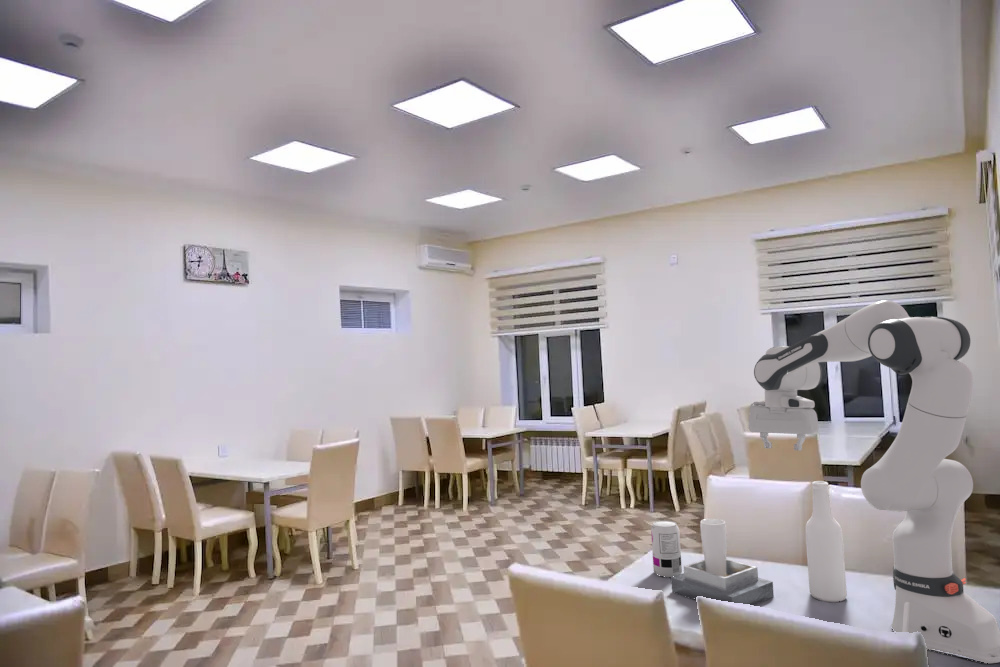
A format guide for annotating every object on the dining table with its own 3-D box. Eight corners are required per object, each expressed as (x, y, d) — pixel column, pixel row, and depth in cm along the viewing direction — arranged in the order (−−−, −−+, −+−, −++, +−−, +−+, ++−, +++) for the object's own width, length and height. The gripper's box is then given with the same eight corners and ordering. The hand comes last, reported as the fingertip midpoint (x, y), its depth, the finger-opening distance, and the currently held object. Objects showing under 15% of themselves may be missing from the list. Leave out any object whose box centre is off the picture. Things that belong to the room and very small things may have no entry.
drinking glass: (732, 580, 173) (728, 524, 174) (706, 581, 174) (702, 525, 175) (726, 572, 180) (722, 518, 181) (701, 572, 181) (697, 518, 181)
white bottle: (830, 605, 164) (821, 486, 165) (802, 594, 172) (794, 481, 174) (855, 598, 167) (846, 482, 169) (826, 588, 176) (818, 477, 177)
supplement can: (648, 575, 194) (645, 524, 194) (662, 567, 200) (659, 518, 200) (673, 580, 188) (670, 528, 189) (686, 572, 194) (683, 522, 195)
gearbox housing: (773, 596, 172) (771, 568, 172) (733, 613, 162) (731, 583, 162) (711, 578, 188) (710, 552, 189) (672, 592, 179) (670, 564, 179)
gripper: (743, 401, 196) (744, 447, 194) (808, 401, 179) (810, 451, 178) (755, 401, 200) (757, 446, 198) (820, 402, 183) (822, 451, 181)
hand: (782, 449), depth 188 cm, fingers open, 8 cm apart
